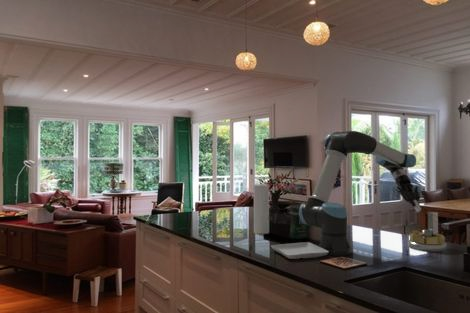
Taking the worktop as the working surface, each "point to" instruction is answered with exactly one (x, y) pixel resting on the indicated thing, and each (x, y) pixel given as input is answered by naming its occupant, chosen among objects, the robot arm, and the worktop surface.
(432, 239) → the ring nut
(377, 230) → the worktop surface
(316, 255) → the salad plate
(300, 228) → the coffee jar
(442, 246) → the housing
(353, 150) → the robot arm
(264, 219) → the cylinder container
